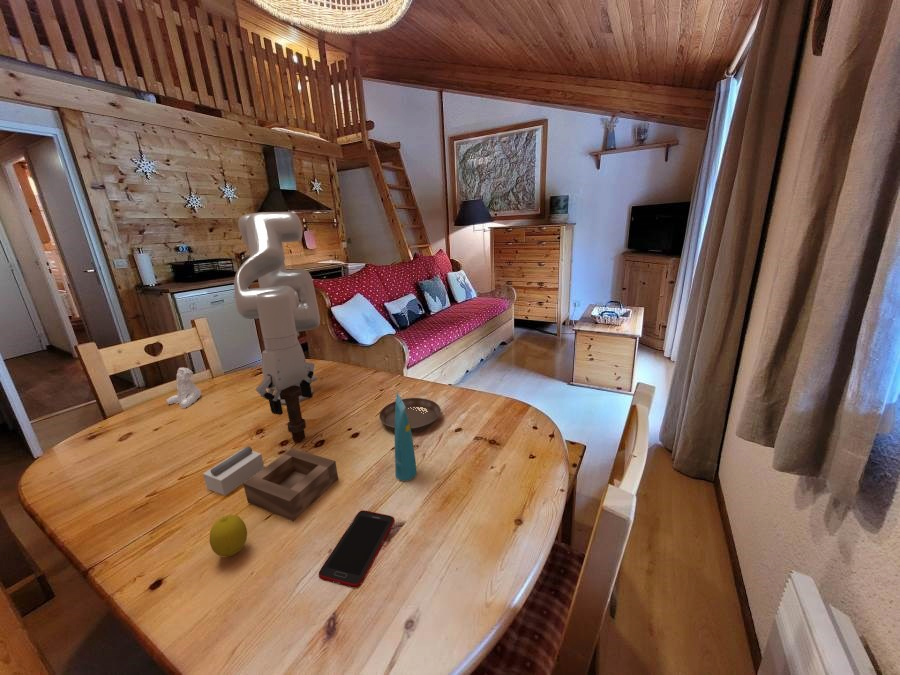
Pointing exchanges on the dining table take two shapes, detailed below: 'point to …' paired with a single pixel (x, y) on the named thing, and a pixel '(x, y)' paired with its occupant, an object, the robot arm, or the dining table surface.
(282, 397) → the bolt
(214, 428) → the dining table surface
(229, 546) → the lemon
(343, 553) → the cell phone
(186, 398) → the seated beast figurine
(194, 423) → the dining table surface
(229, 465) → the pin mount
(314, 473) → the socket
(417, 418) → the plant saucer
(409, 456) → the tube
